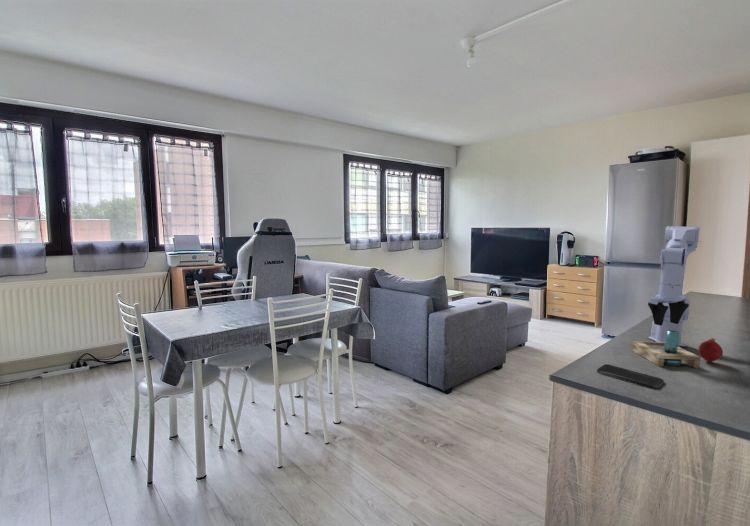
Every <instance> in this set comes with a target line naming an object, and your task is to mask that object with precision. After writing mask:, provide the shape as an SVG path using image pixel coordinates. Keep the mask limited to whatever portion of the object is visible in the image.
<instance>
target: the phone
mask: <svg viewBox="0 0 750 526" xmlns="http://www.w3.org/2000/svg"><path fill="white" fill-rule="evenodd" d="M596 373H598V374H600V373H602V374H601V375H603V374H605V375H604V376H607V375H609V376H608V377H610V376H612V377H611V378H614V377H616V378H615V379H617V378H619V379H618V380H621V379H622V380H621V381H624V380H626V381H625V382H628V381H630V382H629V383H631V382H632V383H631V384H635V383H636V384H635V385H638V384H639V386H642V387H645V386H646V387H645V388H648V387H649V388H650V389H652V388H653V390H658V389H659V388H661V387H662V386H663V385H664V384H665V380H664V379H663V378H660V377H656V376H653V375H648V374H646V373H641V372H638V371H634V370H630V369H627V368H623V367H618V366H617V365H616V366H615V365H611V364H607V363H606V364H603V365H602V366H600V367H598V368H597V369H596ZM663 383H664V384H663ZM662 384H663V385H662ZM661 385H662V386H661ZM660 386H661V387H660Z"/></svg>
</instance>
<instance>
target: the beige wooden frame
mask: <svg viewBox="0 0 750 526" xmlns="http://www.w3.org/2000/svg"><path fill="white" fill-rule="evenodd" d="M651 346H659V347H660V346H661V347H662V346H663V350H662V349H661V348H660V349H659V348H658V349H657V348H653V347H651ZM664 350H665V342H656V341H642V340H641V341H640V340H632V344H631V352H633V351H634V352H633V353H635V354H636V353H637V355H638V354H639V355H638V356H640V355H641V356H640V357H642V358H643V357H644V358H643V359H645V358H646V359H645V360H647V359H648V360H649V361H648V360H647V361H648V362H650V361H651V362H650V363H652V362H653V363H652V364H654V365H655V364H656V365H655V366H657V365H658V366H657V367H664V359H682V362H681V363H683V364H686V365H688V366H689V367H691V366H692V368H693V367H694V369H700V364H701V356H700V355H698V354H695V353H692V352H691V351H688V350H686V349H684V348H682V347H681V346H678V349H677V354H668V353H666V352H664Z"/></svg>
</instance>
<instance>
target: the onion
mask: <svg viewBox="0 0 750 526" xmlns="http://www.w3.org/2000/svg"><path fill="white" fill-rule="evenodd" d="M697 350H698V354H699V357H700V358H702V359H703V360H705V361H706V362H707V363H713V362H715V361H718V360H720V359H721V357H723V353H724V351H723V348H722V346H721V345H720V344H719V343H717V341H716V339H715V338H714V337H711V338H709V339H708V340H705V341H704V342H702V343H700V345H699V346H698V349H697Z"/></svg>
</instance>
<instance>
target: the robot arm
mask: <svg viewBox="0 0 750 526" xmlns="http://www.w3.org/2000/svg"><path fill="white" fill-rule="evenodd" d="M699 237H700V227H699V226H675V225H674V226H673V225H672V226H671V225H667V226H665V233H664V247H665V248H662V249H661V251H660V252H661V254H660V270H661V271H660V280H659V288H658V294H656V295H655V296H654V297H653V296H652V297H650V300H649V302H648V303H647V306H648V308H649V309H650V311H651V314H652V319H653V320H652V323H651V331H650V336H648V337H647V338H648V339H650V340H652V341H653V342H666V334H667V330H672V331H677V332H679V333H680V334H679V341H678V347H688V346H687V344H685V343H683V342H682V336H683V325H684V321H687V320H689V315H690V309H691V305H690V304H691V302H690V299H689V298H688V296H687V295H686V296H685V295H684V294H682V291H683V285H684V280H685V279H684V278H685V273H686V272H685V271H686V265H687V259H688V257H689V255H690V254H691V253H693V252H695V251H696V250H697V248H698V245H699V244H698V243H699Z"/></svg>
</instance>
